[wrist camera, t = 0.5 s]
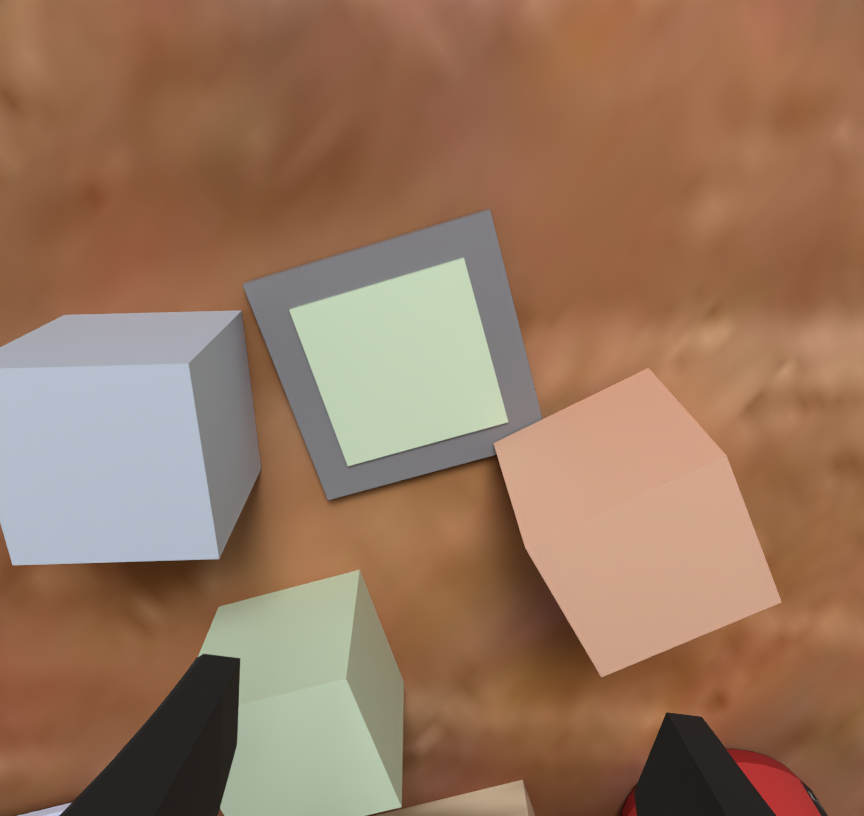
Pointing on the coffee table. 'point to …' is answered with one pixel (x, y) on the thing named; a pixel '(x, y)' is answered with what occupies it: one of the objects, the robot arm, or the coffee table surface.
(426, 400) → the tile
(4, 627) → the coffee table surface
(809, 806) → the canned food
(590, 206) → the coffee table surface
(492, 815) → the maple slab
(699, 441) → the terracotta cube
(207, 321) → the slate blue cube
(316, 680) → the sage cube
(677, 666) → the coffee table surface
